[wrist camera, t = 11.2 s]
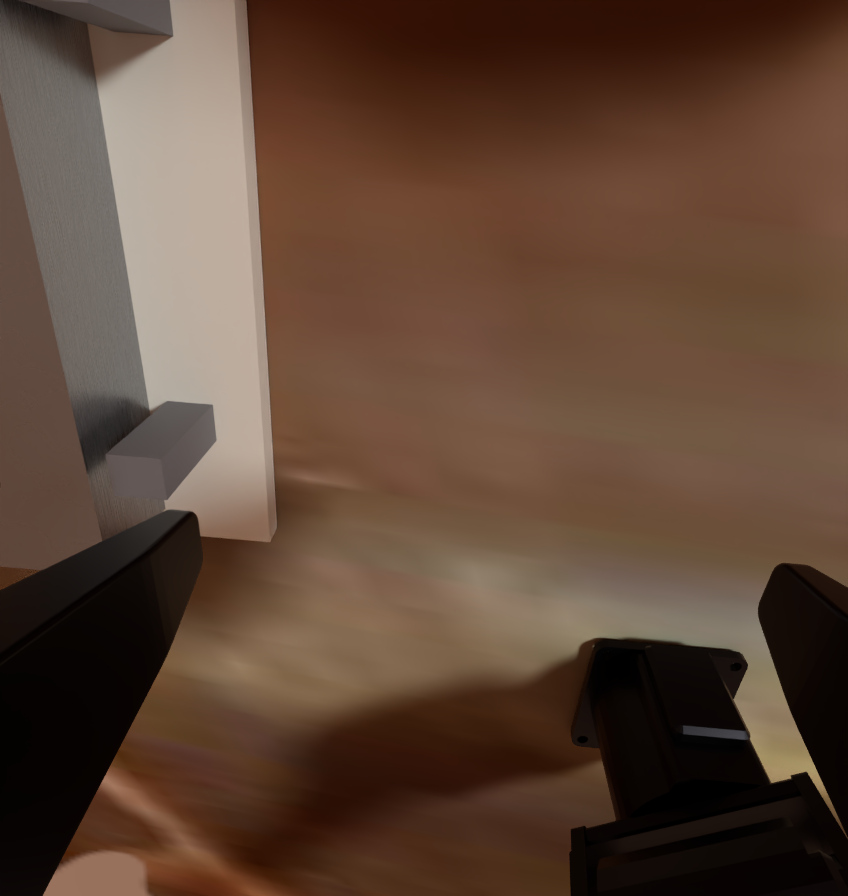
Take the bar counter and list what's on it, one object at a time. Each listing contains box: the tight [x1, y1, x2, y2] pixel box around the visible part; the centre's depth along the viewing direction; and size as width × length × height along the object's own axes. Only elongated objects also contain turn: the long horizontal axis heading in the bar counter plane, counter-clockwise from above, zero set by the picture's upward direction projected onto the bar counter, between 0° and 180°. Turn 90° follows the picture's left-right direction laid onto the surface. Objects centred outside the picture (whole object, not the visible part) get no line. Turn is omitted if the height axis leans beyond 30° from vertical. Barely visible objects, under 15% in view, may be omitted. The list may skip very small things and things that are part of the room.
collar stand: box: [20, 0, 277, 542], centre depth 17 cm, size 22×12×5 cm, turn 176°
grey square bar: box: [0, 0, 165, 570], centre depth 16 cm, size 20×4×4 cm, turn 176°
